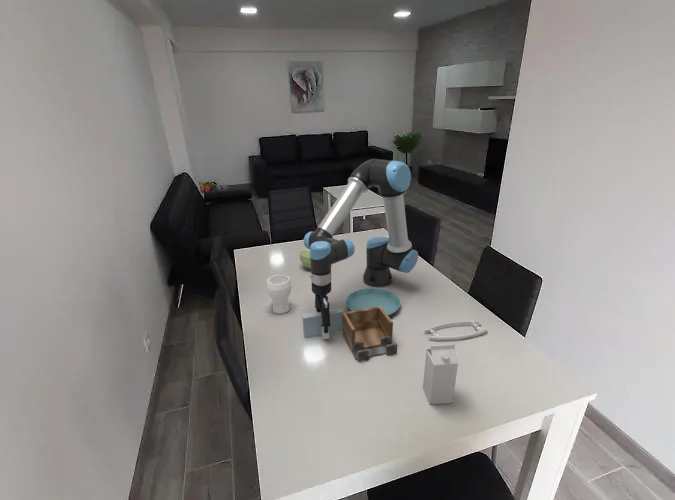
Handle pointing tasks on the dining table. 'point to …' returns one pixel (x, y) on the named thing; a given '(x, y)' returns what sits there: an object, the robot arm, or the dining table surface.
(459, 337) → the door handle
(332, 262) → the robot arm
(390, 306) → the saucer
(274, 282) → the cup
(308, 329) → the door
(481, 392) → the dining table surface
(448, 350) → the milk carton
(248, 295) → the dining table surface
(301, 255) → the decorative sphere
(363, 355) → the cabinet
